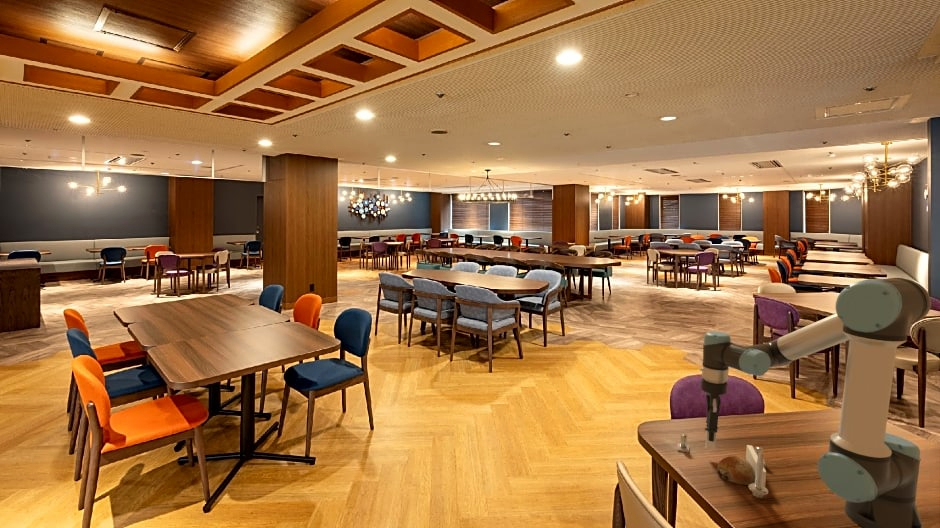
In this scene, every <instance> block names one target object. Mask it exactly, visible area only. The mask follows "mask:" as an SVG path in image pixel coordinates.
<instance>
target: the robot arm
mask: <svg viewBox="0 0 940 528" xmlns="http://www.w3.org/2000/svg"><path fill="white" fill-rule="evenodd" d="M931 307H932V299H931V296H930V293H928V291H927V289H926V288H925V287H924V286H923V285H922V284H920V283H919V282H916V281H914V280H913V279H909V278H904V277H889V278H879V279H878V278H877V279H875V278H873V279H871V278H868V279H864V280H860V281H857V282H854V283H851V284H849V285H847V286H845V287H844V288H843V289H842V290H841V291H840V293H839V294H838V295H837V298H836V300H835V313H833V314H832V315H829V316H826V317H825V318H822V319H820V320H817V321H815V322H813V323H810V324H808V325H806V326H804V327H803V326H802V327H801V328H799V329H796V330H793V331H791V332H789V333H787V334H785V335H783V336H779V337H778V338H775V339H774V340H771V341H769V342H765V343H761V344H760V343H758V344H753V345H741V344H738V343H734V342H732V340H731V336H730V335H729V333H726V332H722V331H707V332H706V333H704V338H703V344H702V347H703V348H702V349H703V350H702V367H700V369H699V371H701V377H702V378H701V380H700V381H701V383H700V389H701V390H702V392H704V393H706V394H705V399H706V419H705V423H706V424H705V425H706V427H704V431H705V449H706V450H709V451H716V437H717V432H718V429H719V427H718V422H719V415H720V414H719V413H720V405H721V403H722V402H721V400H722V399H721V397H720V396H721V395H722V396H724V395H726V394H727V392H728V380H729V372H730V371H729V368H731V369H734V370H737V371H740V372H743V373H745V374H747V375H753V376H757V377H761V376H765V374H766V373H768V372H769V370H770V368H777V367H784V366H787V365H789V364H791V363H792V362H793V361H797V360H799V359H802V358H804V357H806V356H810V355H812V354H815V353H818V352H820V351H823V350H825V349H828V348H831V347H834V346H837V345H839V344H842V343H844V342H847V341H848V342H849V343H848V350H847V358H846V359H847V360H846V368H845V377H844V384H843V392H842V393H843V394H842V400H841V409H840V417H839V419H840V420H839V424H838V425H839V427H838V431H836V432H833V433H831V435H830V437H829V446H828V452H826V453H823V454H822V455H821V456H820V457H819V459H818V461H817V473H818V474H819V477H820V479H821V481H822V482H823V483H824V484H825V485H826V487H827V488H828V490H830V491H831V492H832V493H833V494H834V495H836V496H837V497H839V498H841V499H843V500H845V506H844V507H845V508H844V511H845V513H846V516H848V517H849V518H850V520H852V521H853V522H854V523H856V524H857V525H859V526H860V527H863V528H923V526H924V525H923V523H922V519H921V517H920V513H919V511H918V506H917V503H916V499H917V498H916V497H917V492H918V491H917V489H918V482H919V472H920V463H921V461H922V459H921V449H920V447H919V446H918V445H916V444H915V443H913V441H910V440H908V439H906V438H903V437H901V436H898V435H894V434H891V433H887V432H886V431H887V425H888V424H887V422H888V416H889V409H890V408H889V407H890V400H891V393H892V385H893V380H894V372H895V364H896V355H897V348H898V347H899V346H901V345H902V344H904V343H906V342H907V341H908V336H909V335H908V334H909V326H910V325H913V324H916V323H918V322H920V321H921V320H923V319H924V318H925V317H926V316H927V315H928V314H929V312H930V310H931Z"/></svg>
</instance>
